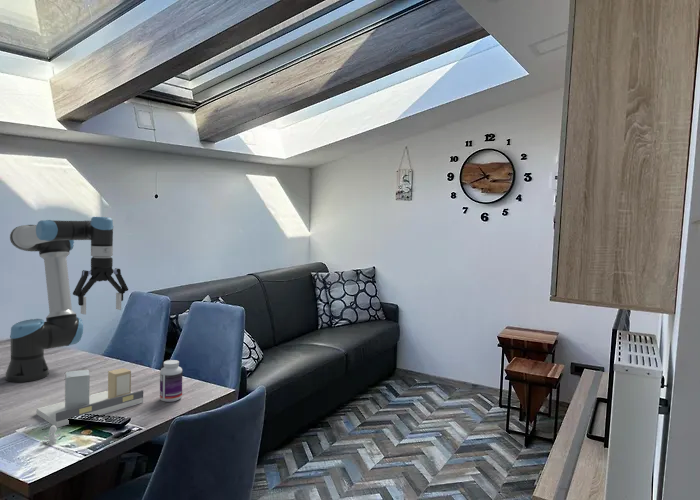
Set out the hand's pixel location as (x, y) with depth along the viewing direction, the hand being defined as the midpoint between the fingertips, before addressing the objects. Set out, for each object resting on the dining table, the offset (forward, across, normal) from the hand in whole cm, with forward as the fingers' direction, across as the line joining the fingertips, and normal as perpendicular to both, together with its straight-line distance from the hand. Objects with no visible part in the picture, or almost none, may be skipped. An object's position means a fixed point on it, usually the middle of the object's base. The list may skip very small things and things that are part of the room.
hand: (101, 311), depth 193 cm
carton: (+30, -1, -16) cm, 34 cm away
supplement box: (+30, -16, -16) cm, 37 cm away
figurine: (+32, -31, -32) cm, 55 cm away
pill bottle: (+32, +14, -26) cm, 43 cm away
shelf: (+32, -10, -14) cm, 36 cm away
